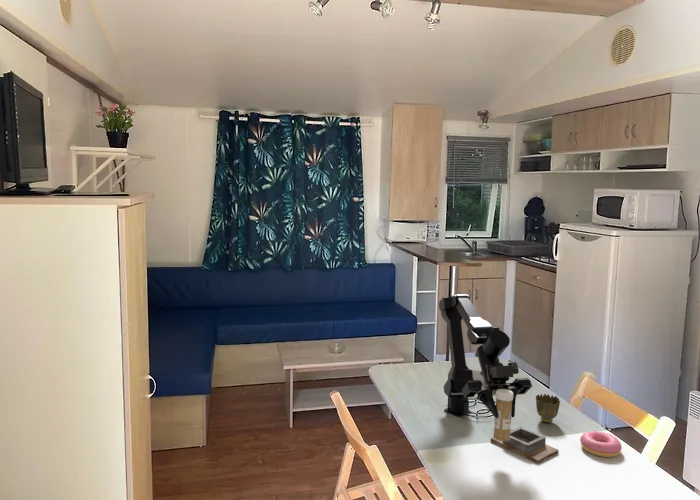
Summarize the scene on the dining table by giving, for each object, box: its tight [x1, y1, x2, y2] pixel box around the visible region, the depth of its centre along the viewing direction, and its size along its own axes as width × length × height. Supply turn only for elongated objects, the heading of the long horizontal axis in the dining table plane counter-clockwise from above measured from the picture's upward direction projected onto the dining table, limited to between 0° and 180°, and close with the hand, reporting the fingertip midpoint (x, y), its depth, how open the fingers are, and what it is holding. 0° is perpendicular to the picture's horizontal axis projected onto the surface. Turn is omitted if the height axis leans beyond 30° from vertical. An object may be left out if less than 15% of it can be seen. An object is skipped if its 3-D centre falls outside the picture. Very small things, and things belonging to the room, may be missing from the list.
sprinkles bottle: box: [492, 389, 513, 441], centre depth 147 cm, size 5×5×13 cm
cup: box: [535, 393, 561, 424], centre depth 174 cm, size 8×7×8 cm
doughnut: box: [579, 430, 623, 458], centre depth 156 cm, size 11×11×4 cm
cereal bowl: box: [465, 356, 506, 384], centre depth 210 cm, size 17×17×7 cm
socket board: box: [490, 426, 559, 464], centre depth 157 cm, size 16×10×4 cm, turn 37°
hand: (505, 417), depth 146 cm, fingers closed on sprinkles bottle, 4 cm apart
